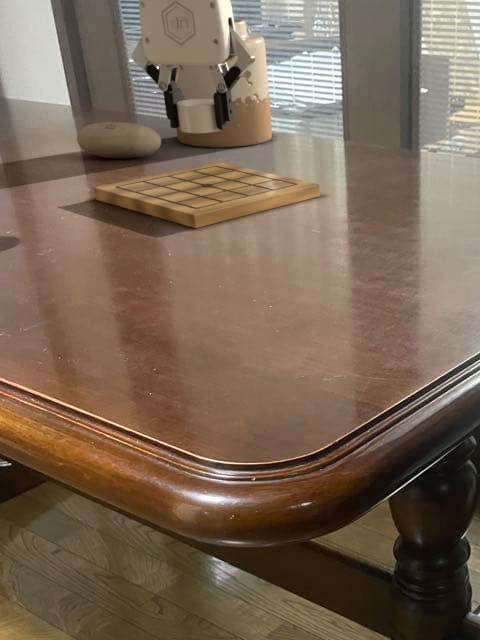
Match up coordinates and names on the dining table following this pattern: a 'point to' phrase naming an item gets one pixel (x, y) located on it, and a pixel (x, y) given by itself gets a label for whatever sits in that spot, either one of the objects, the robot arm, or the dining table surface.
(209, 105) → the cylinder
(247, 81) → the vase
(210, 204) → the board
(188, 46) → the robot arm
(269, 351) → the dining table surface
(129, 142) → the stone
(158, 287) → the dining table surface
